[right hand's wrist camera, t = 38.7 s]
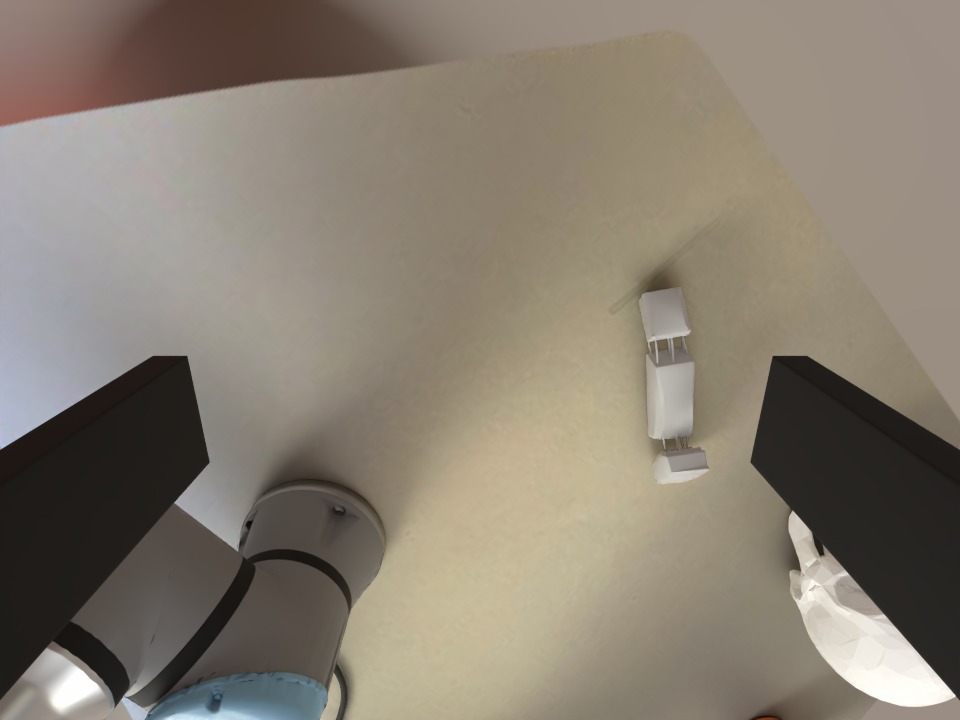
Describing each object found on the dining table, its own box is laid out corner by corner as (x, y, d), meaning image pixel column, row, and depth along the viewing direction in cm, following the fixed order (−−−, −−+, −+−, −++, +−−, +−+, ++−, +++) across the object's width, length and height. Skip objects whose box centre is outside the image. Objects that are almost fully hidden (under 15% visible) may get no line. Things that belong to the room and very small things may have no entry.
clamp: (687, 471, 55) (714, 506, 49) (651, 477, 56) (673, 512, 49) (671, 281, 50) (699, 291, 44) (631, 288, 50) (653, 299, 44)
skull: (883, 440, 55) (1026, 549, 40) (905, 595, 62) (1033, 735, 47) (752, 479, 57) (841, 595, 42) (788, 624, 64) (874, 766, 49)
